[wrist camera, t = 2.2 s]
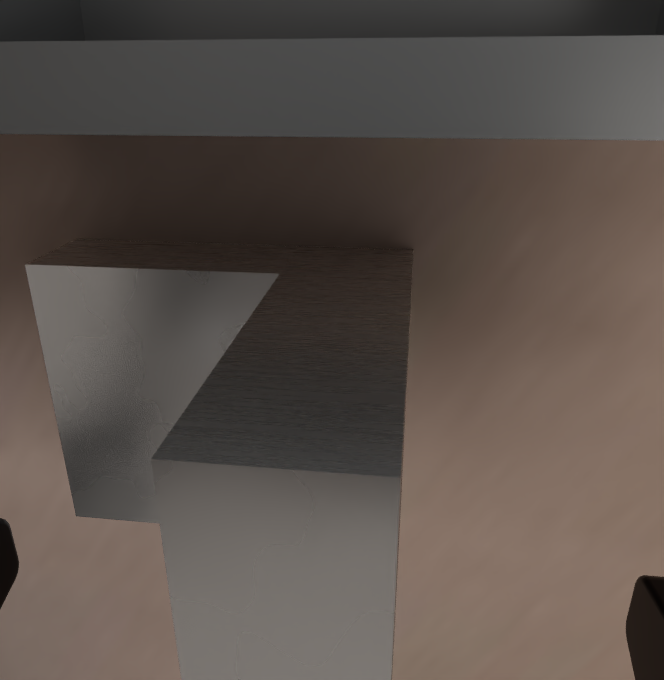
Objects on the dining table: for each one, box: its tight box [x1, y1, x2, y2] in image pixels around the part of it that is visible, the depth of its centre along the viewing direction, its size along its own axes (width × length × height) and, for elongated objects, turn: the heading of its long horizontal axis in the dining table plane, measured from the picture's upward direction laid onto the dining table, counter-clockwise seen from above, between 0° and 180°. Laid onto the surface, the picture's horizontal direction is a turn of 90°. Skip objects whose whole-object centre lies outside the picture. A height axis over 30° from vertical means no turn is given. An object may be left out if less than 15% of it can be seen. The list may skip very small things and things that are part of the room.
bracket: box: [25, 239, 413, 680], centre depth 11 cm, size 6×7×8 cm
